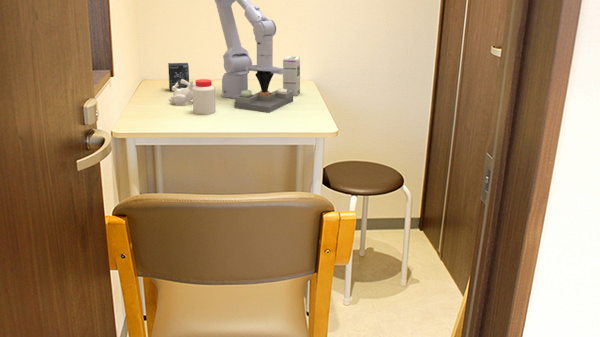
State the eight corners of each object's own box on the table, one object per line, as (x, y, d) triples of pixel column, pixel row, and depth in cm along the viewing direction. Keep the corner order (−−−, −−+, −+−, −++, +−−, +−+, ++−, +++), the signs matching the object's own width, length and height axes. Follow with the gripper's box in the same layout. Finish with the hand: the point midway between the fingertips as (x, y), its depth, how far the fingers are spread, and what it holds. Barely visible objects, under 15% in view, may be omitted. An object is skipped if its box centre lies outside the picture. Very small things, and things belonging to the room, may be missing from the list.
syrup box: (297, 96, 236) (297, 59, 231) (282, 95, 237) (282, 58, 232) (299, 93, 241) (300, 56, 236) (285, 92, 242) (286, 55, 237)
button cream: (275, 95, 225) (275, 90, 224) (279, 93, 228) (279, 88, 227) (284, 96, 223) (284, 91, 223) (288, 94, 226) (288, 89, 226)
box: (169, 92, 238) (168, 65, 234) (169, 89, 243) (168, 62, 239) (189, 91, 240) (188, 65, 236) (189, 88, 245) (188, 62, 241)
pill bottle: (197, 115, 205) (196, 83, 202) (190, 110, 212) (189, 79, 208) (218, 113, 209) (218, 81, 205) (211, 108, 215) (210, 77, 212)
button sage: (239, 97, 216) (239, 91, 215) (244, 95, 219) (244, 89, 219) (248, 98, 215) (248, 92, 214) (253, 96, 218) (253, 90, 217)
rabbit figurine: (202, 101, 225) (200, 75, 221) (203, 106, 218) (201, 79, 214) (169, 102, 222) (167, 76, 219) (169, 107, 216) (167, 81, 212)
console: (234, 107, 216) (234, 97, 215) (260, 96, 234) (260, 86, 232) (269, 112, 211) (269, 101, 210) (293, 100, 228) (293, 90, 227)
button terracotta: (257, 97, 221) (257, 92, 220) (262, 95, 224) (262, 90, 223) (266, 98, 219) (266, 93, 219) (271, 96, 222) (271, 91, 222)
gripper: (241, 54, 215) (241, 91, 220) (277, 58, 210) (277, 96, 215) (251, 51, 222) (251, 88, 226) (286, 55, 216) (286, 92, 221)
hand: (264, 91), depth 221 cm, fingers closed, pressing on button terracotta
